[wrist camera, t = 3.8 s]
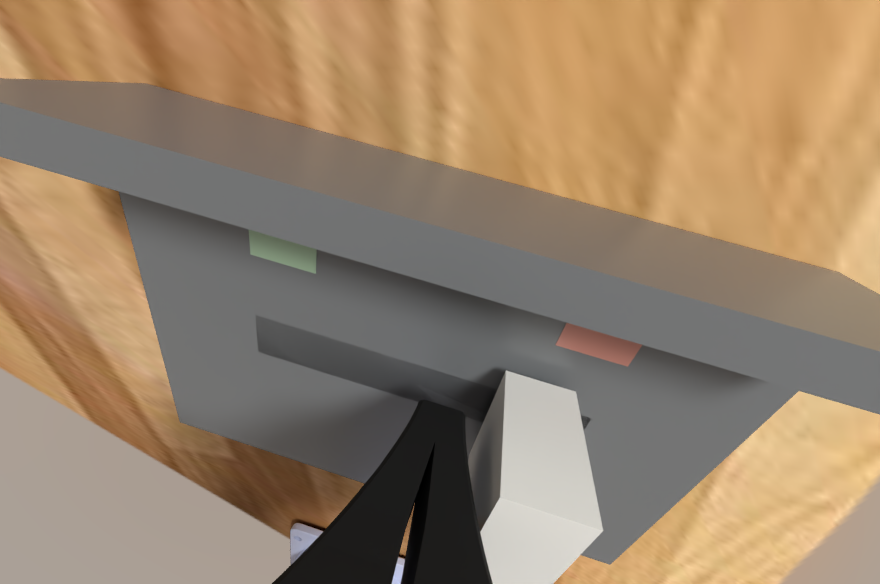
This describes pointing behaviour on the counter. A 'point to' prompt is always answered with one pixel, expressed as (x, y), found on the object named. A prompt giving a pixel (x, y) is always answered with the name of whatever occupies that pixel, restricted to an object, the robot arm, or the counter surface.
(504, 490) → the knob
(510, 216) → the switch panel
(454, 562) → the robot arm
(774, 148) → the counter surface
